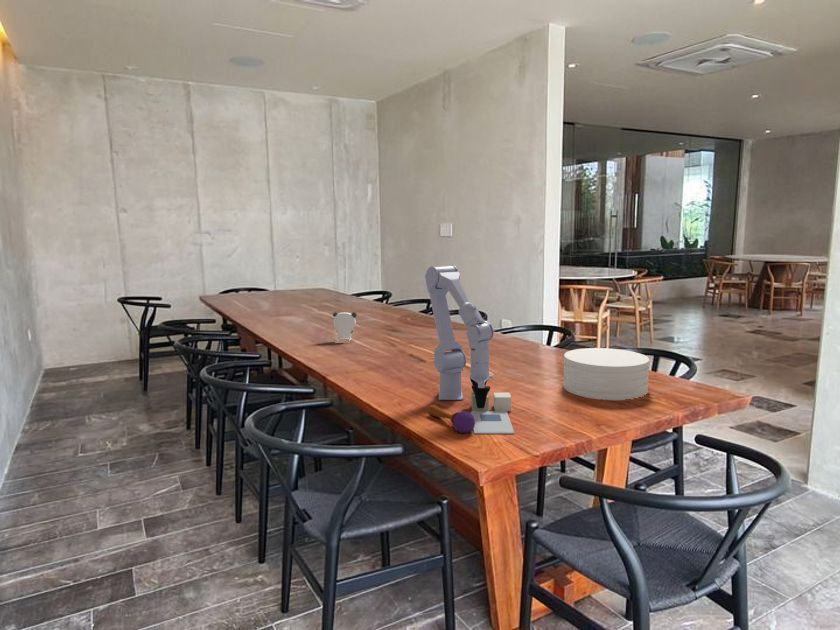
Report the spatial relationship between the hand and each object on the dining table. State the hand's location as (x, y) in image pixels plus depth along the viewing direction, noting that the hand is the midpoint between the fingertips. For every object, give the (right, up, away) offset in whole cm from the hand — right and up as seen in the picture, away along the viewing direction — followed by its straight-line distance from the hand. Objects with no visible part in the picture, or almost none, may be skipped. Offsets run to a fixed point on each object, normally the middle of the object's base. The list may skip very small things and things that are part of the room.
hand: (479, 403), depth 174 cm
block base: (0, -2, 0) cm, 2 cm away
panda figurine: (-57, +14, +107) cm, 122 cm away
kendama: (-10, -4, -13) cm, 17 cm away
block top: (+7, -2, 0) cm, 7 cm away
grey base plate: (+2, -3, -13) cm, 13 cm away
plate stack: (+46, +2, +20) cm, 50 cm away
